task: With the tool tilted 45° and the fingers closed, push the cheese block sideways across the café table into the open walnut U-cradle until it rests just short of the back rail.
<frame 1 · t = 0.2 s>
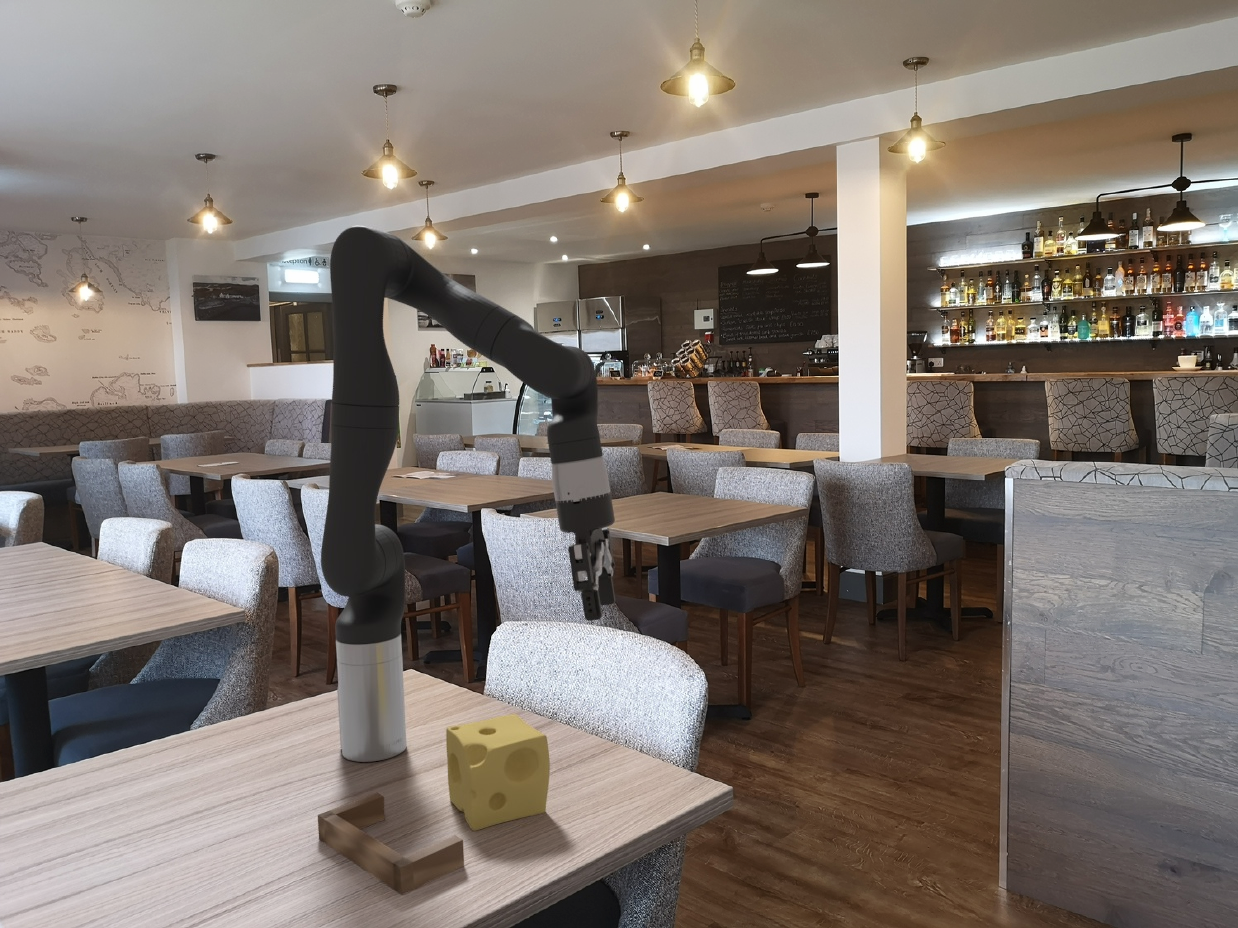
hand: (601, 611, 125), 22 cm above the table, tool pointing down, fingers open, 8 cm apart
walnut cradle: (387, 852, 107), on the table
cheese: (497, 807, 118), on the table
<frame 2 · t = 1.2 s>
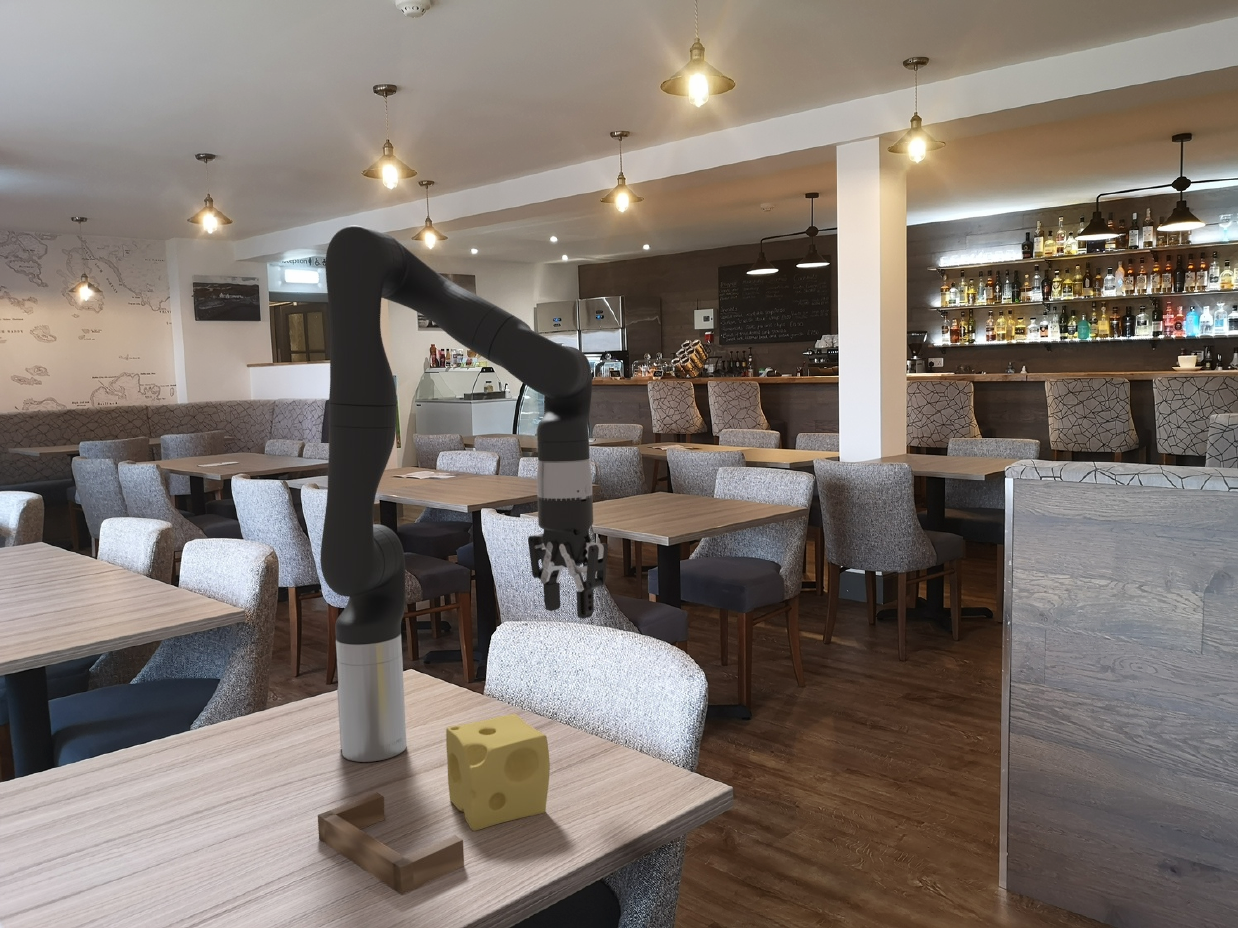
hand: (568, 612, 128), 22 cm above the table, tool pointing down, fingers open, 6 cm apart
nothing on the table moved.
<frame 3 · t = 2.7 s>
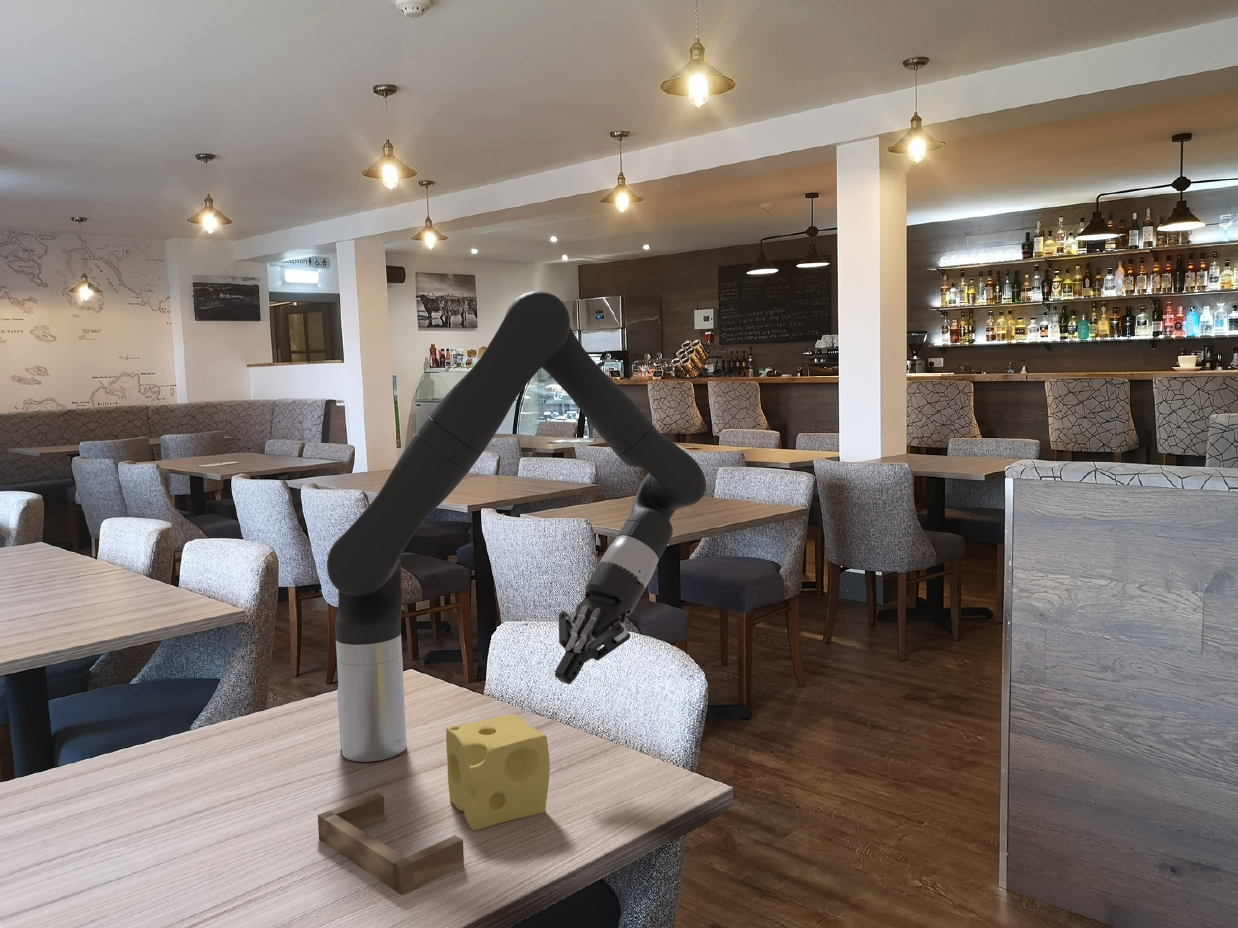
hand: (562, 680, 125), 13 cm above the table, tool tilted 45°, fingers closed
nothing on the table moved.
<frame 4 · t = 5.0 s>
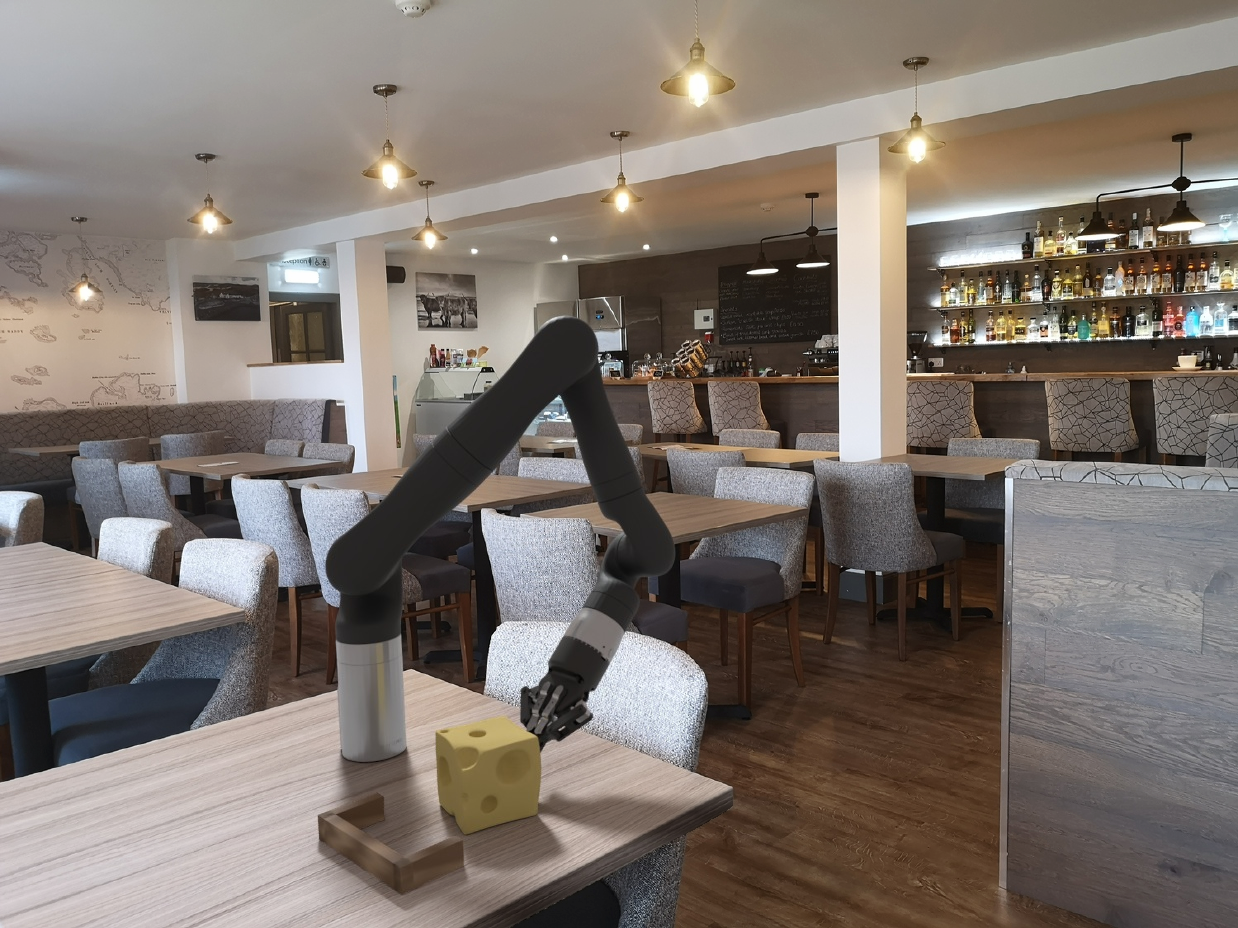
hand: (522, 762, 121), 4 cm above the table, tool tilted 45°, fingers closed
cheese: (488, 810, 117), on the table, touching gripper
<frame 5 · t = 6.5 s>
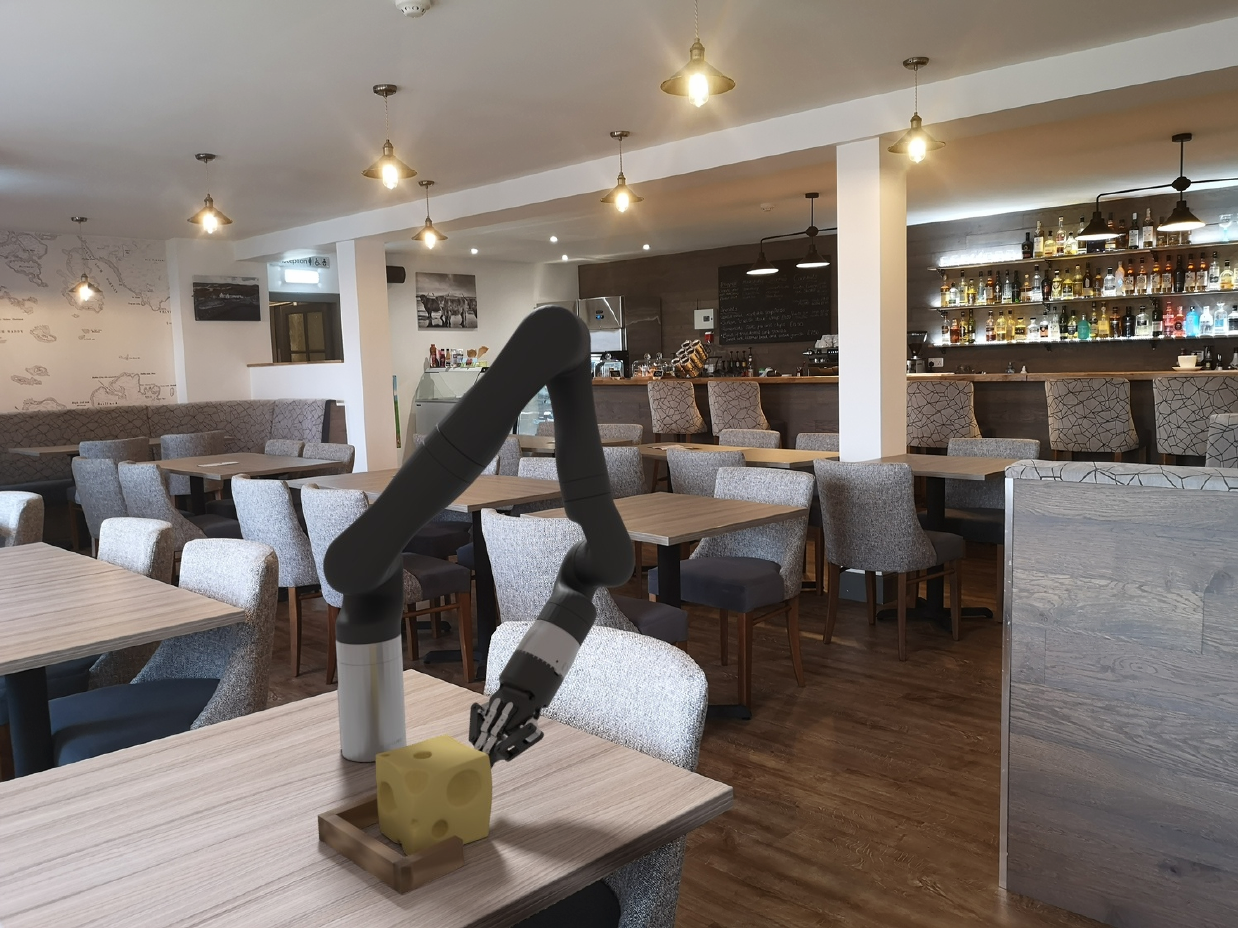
hand: (469, 783, 115), 4 cm above the table, tool tilted 45°, fingers closed
cheese: (434, 835, 111), on the table, touching gripper
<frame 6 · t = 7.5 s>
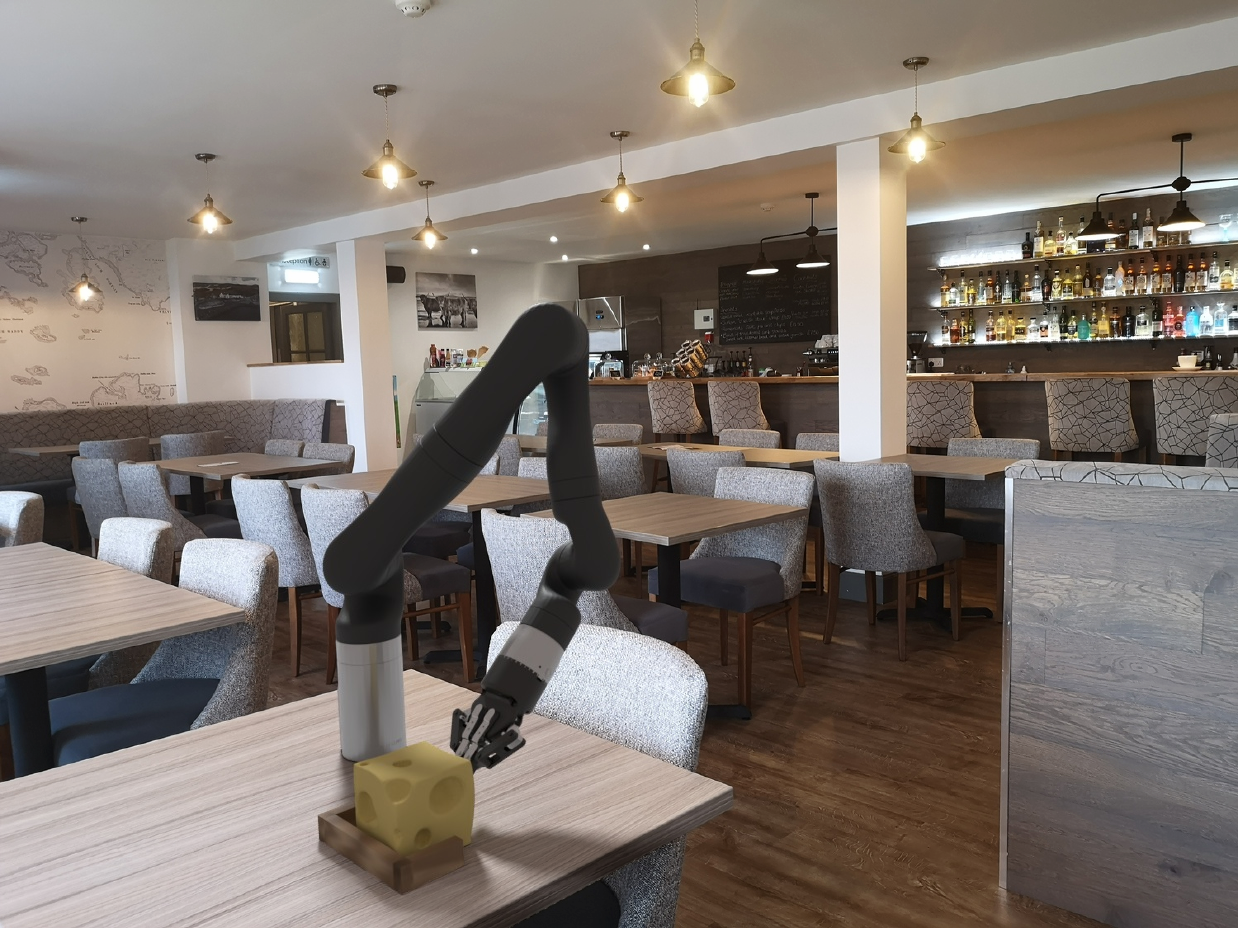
hand: (449, 791, 113), 4 cm above the table, tool tilted 45°, fingers closed
cheese: (415, 844, 109), on the table, touching gripper
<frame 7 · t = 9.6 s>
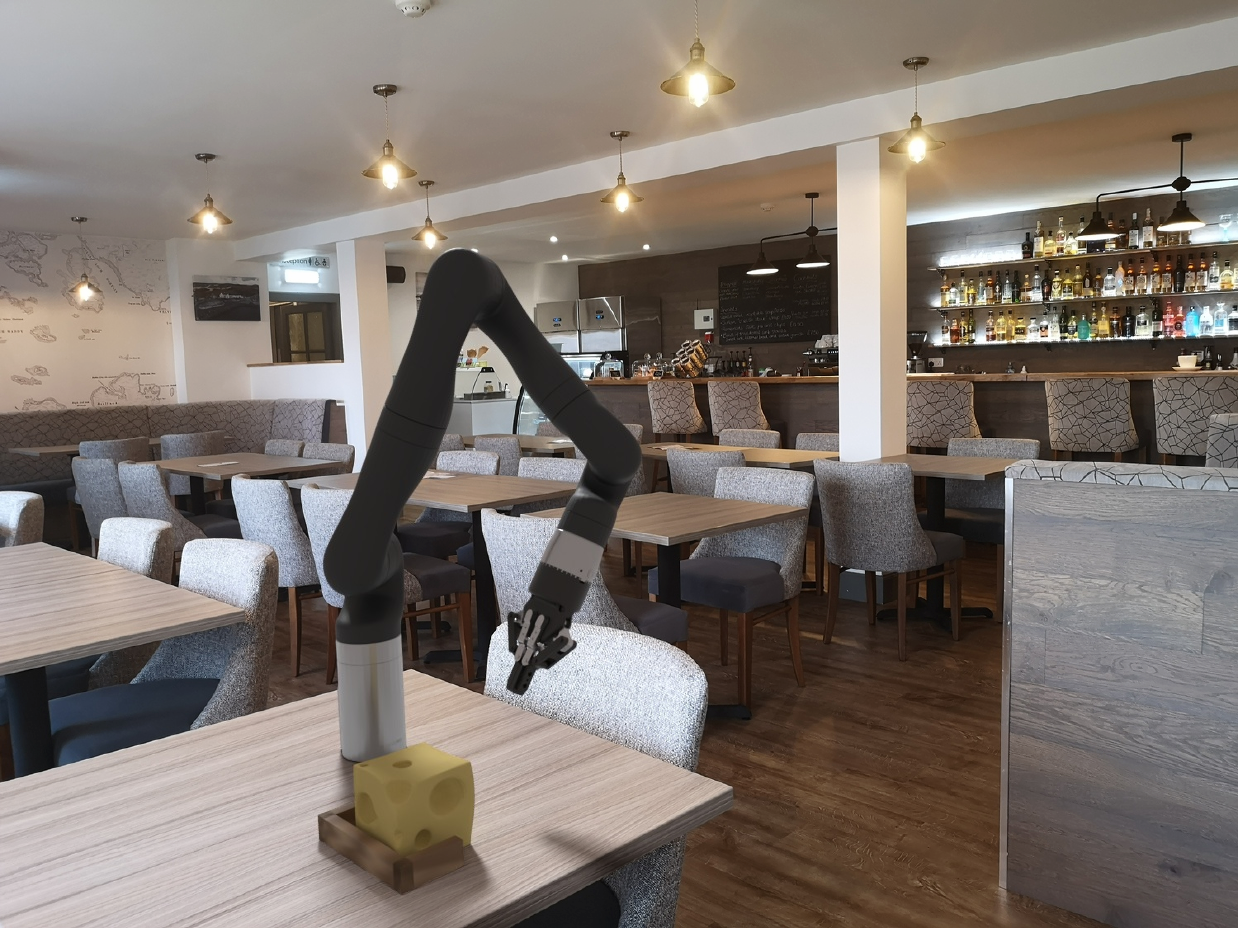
hand: (514, 692, 121), 13 cm above the table, tool tilted 30°, fingers closed
cheese: (415, 845, 109), on the table
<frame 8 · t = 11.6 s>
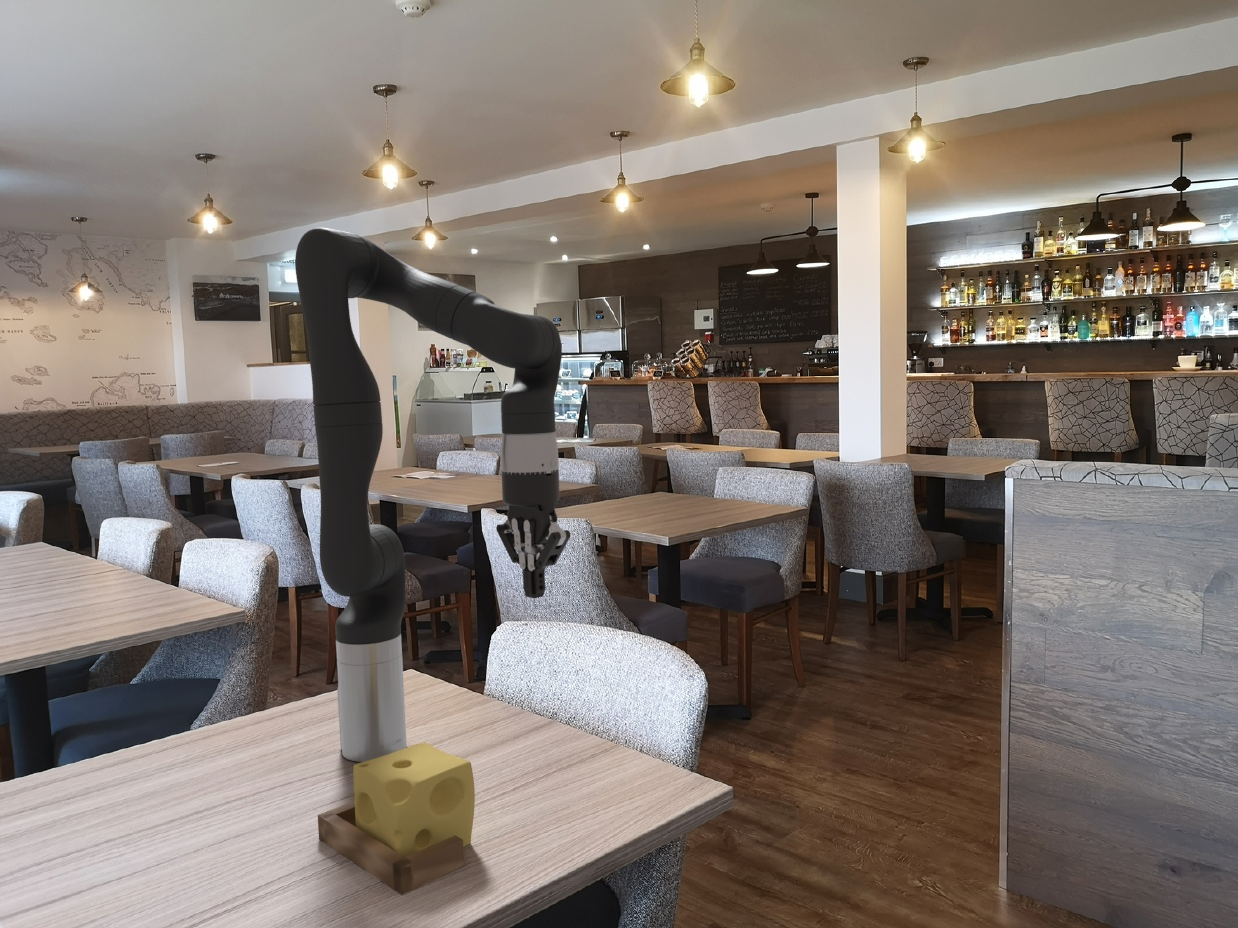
hand: (534, 596, 124), 25 cm above the table, tool pointing down, fingers closed
nothing on the table moved.
at the end: cheese inside the target area (0.8 cm from its centre), on the table; cheese tilted 0°; cheese moved 12.6 cm from its start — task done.
